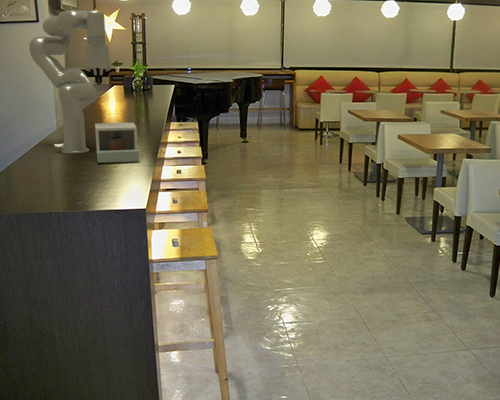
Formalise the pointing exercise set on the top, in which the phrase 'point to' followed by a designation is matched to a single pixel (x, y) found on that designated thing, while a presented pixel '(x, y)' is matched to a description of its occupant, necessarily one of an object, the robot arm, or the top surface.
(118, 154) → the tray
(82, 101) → the robot arm
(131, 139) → the cabinet
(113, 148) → the lighter
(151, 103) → the top surface
